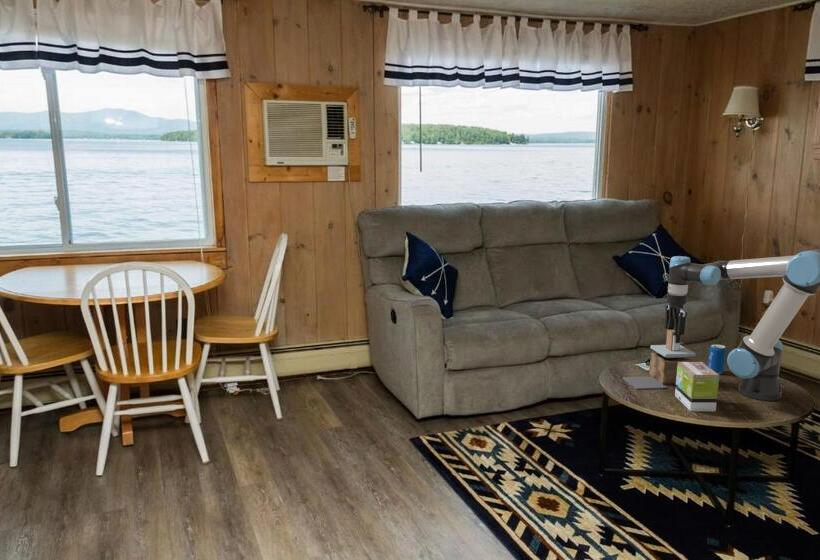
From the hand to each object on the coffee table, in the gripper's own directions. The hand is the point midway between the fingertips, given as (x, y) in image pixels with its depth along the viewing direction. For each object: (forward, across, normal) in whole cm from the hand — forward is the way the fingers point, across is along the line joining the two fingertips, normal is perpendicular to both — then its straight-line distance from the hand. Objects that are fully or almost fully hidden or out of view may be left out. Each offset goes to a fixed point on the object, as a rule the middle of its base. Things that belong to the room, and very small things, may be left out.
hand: (672, 348), depth 270 cm
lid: (+2, 0, 0) cm, 2 cm away
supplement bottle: (+14, -13, +10) cm, 22 cm away
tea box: (+14, +27, -4) cm, 31 cm away
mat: (+14, +4, -13) cm, 19 cm away
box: (+14, 0, 0) cm, 14 cm away
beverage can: (+14, -7, +25) cm, 29 cm away
